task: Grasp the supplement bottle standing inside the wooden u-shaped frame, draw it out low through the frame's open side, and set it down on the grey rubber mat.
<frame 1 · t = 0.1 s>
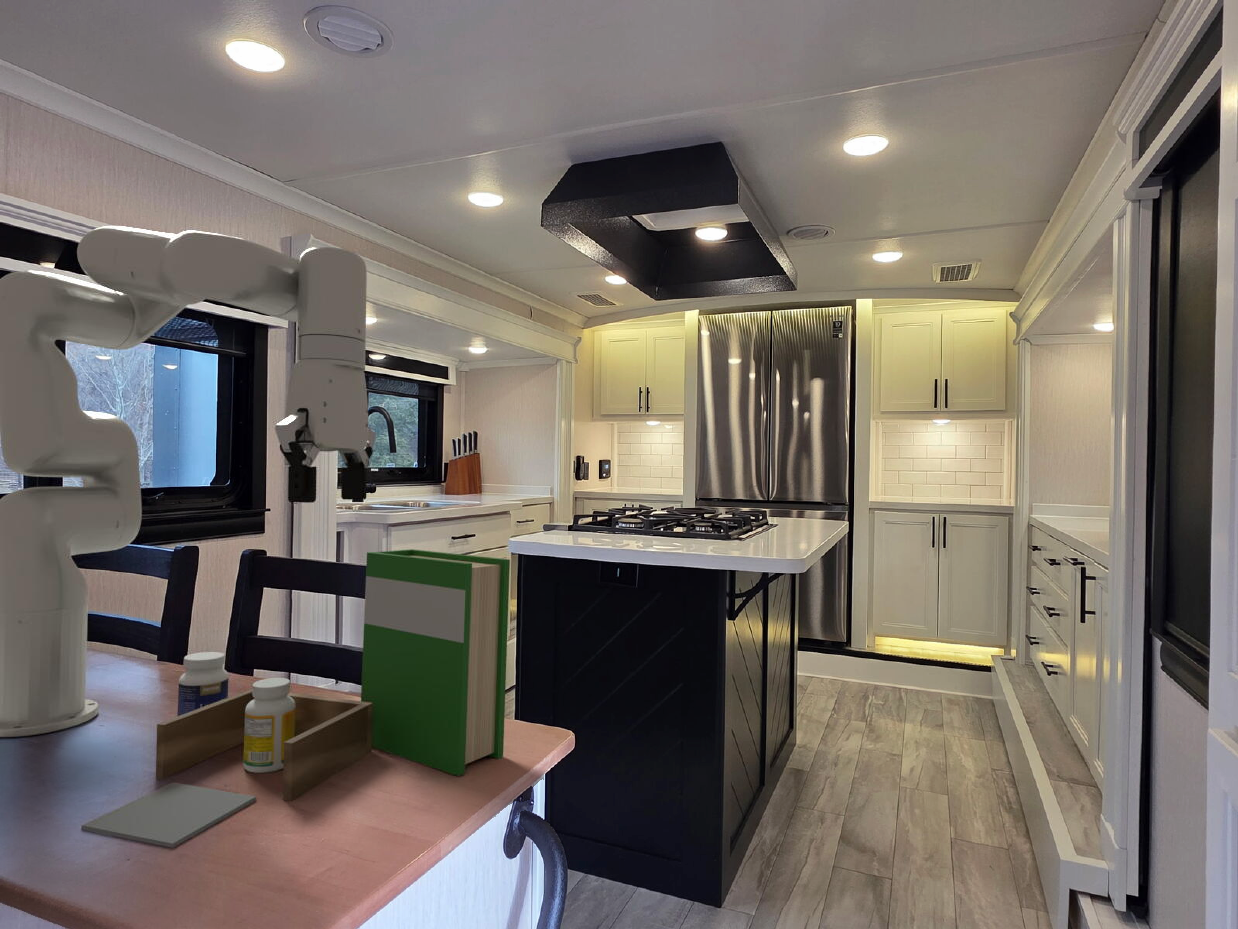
hand: (329, 500, 85), 31 cm above the table, tool pointing down, fingers open, 9 cm apart
supplement bottle: (269, 766, 84), on the table
pill bottle: (202, 733, 95), on the table
hardback book: (429, 751, 89), on the table
grey mat: (172, 814, 72), on the table
wooden u-shaped frame: (269, 764, 84), on the table
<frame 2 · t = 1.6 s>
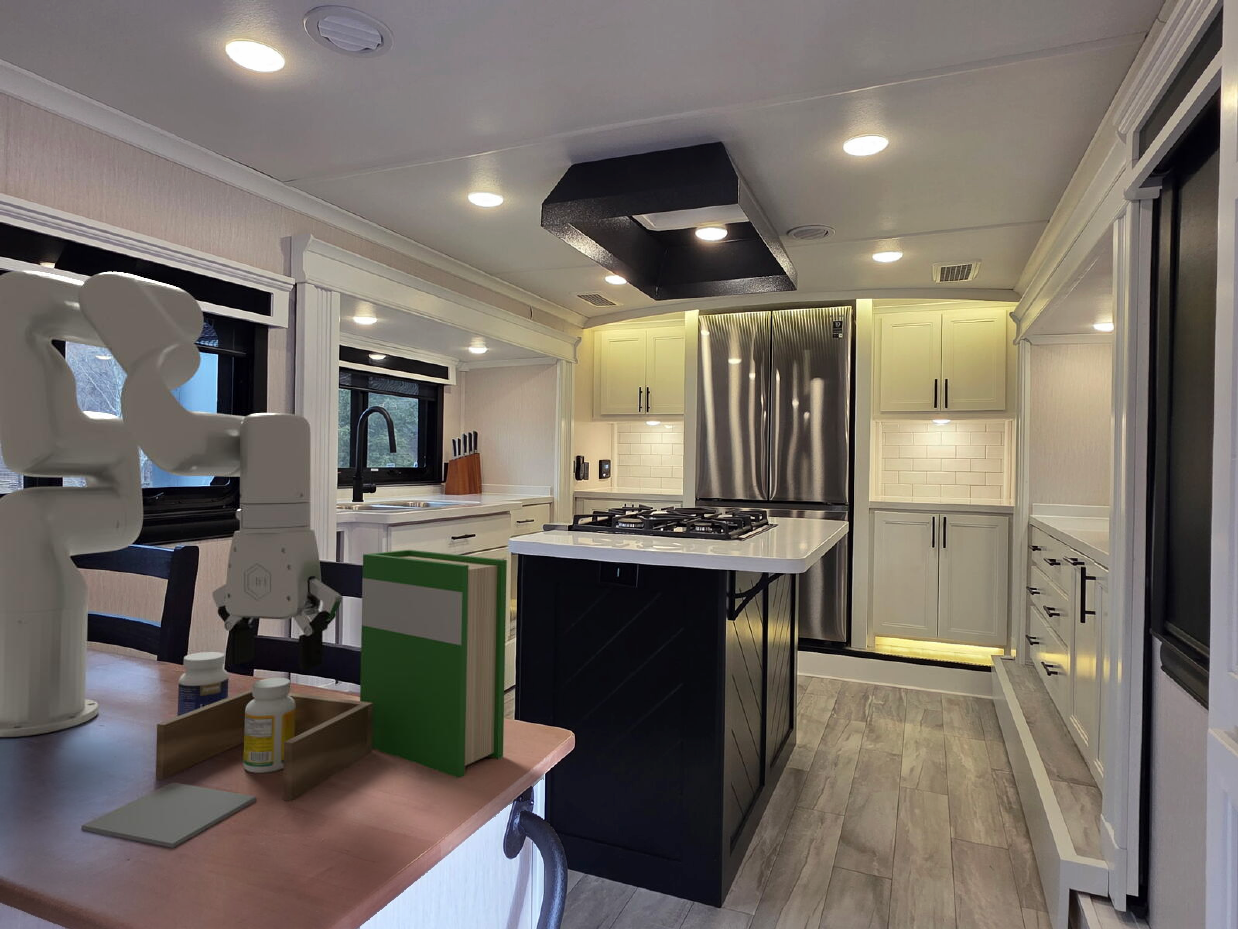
hand: (275, 665, 84), 12 cm above the table, tool pointing down, fingers open, 9 cm apart
nothing on the table moved.
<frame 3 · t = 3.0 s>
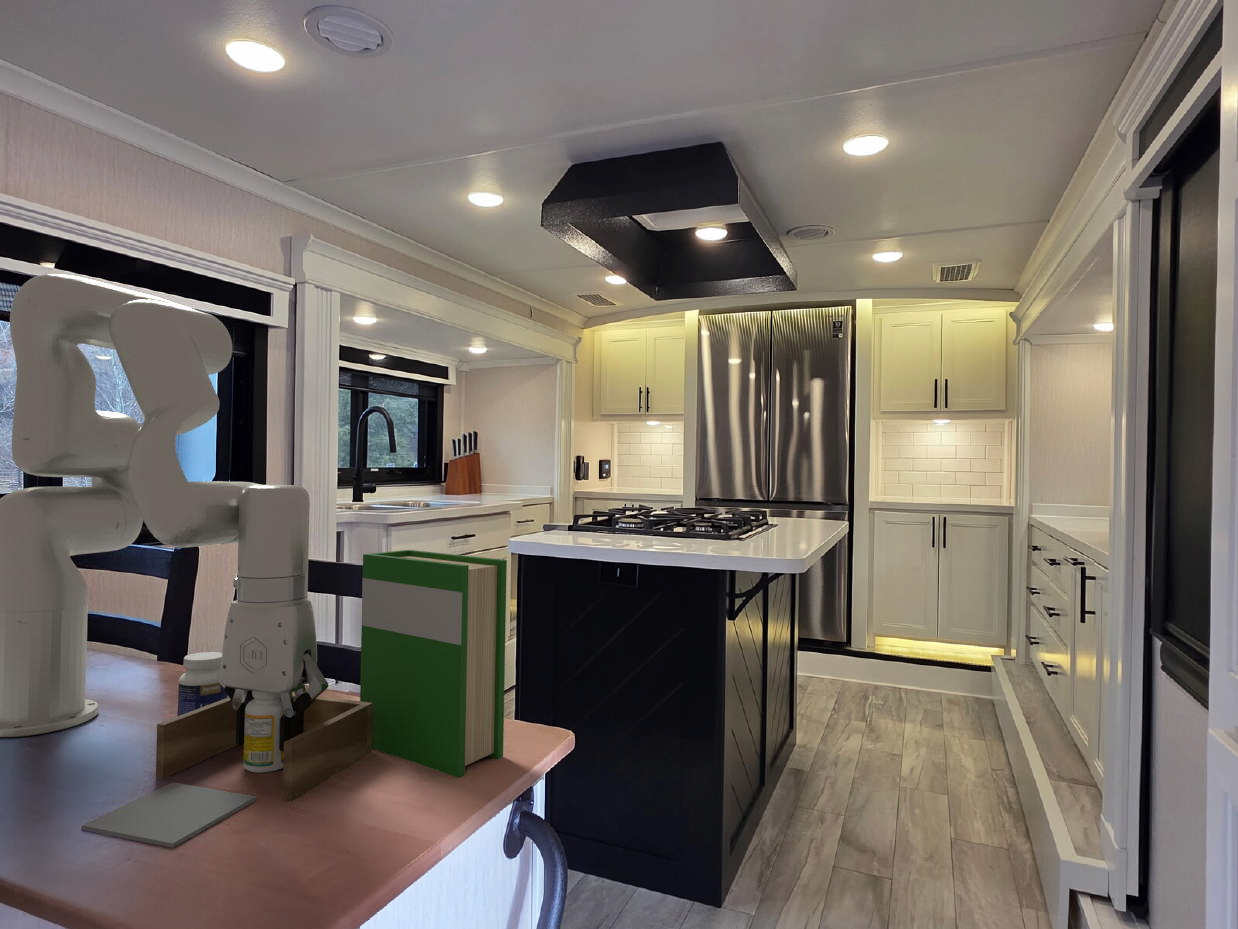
hand: (269, 742, 84), 3 cm above the table, tool pointing down, fingers closed on supplement bottle, 5 cm apart
supplement bottle: (269, 766, 84), on the table, touching gripper
everything else where it was.
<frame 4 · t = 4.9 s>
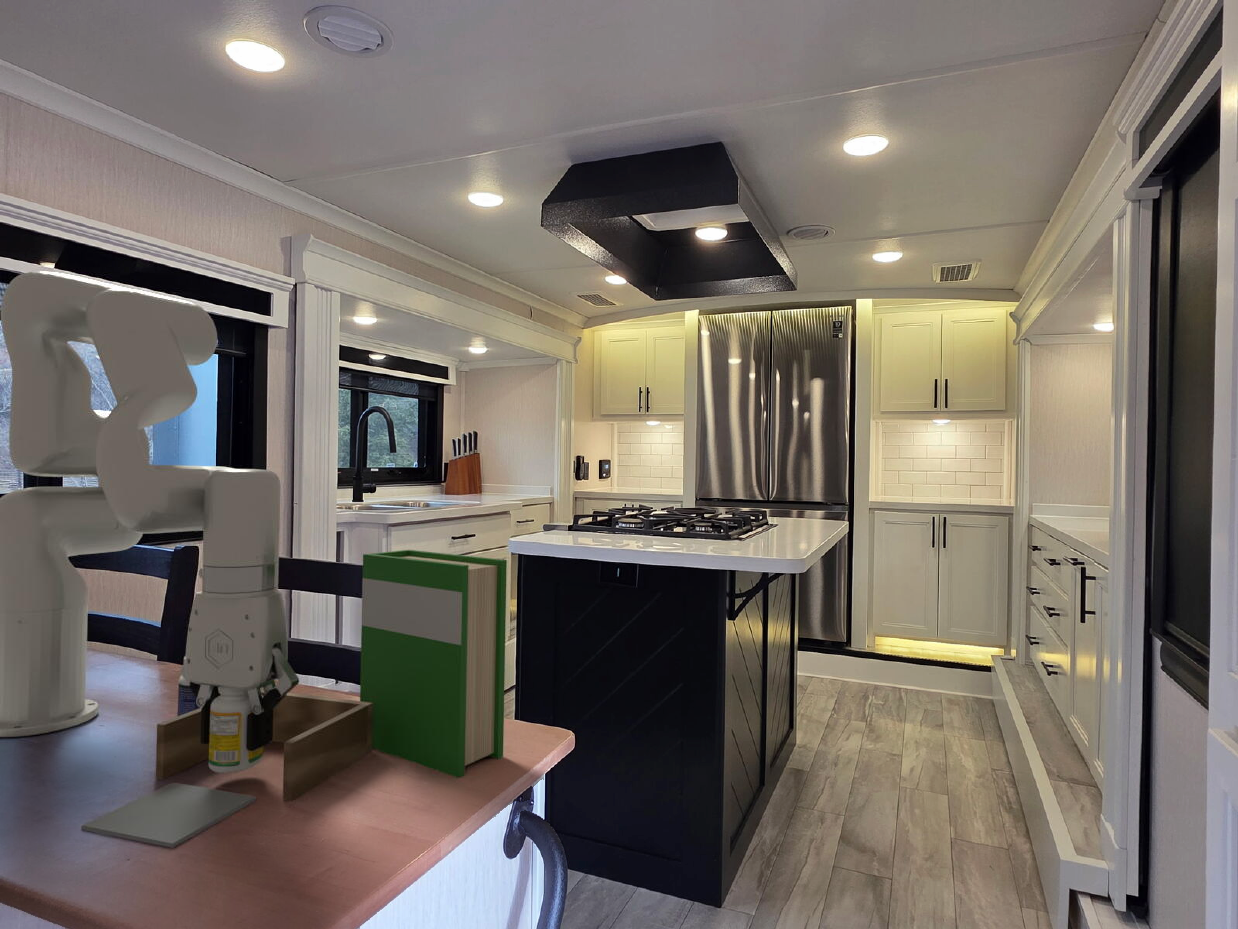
hand: (236, 741, 80), 4 cm above the table, tool pointing down, fingers closed on supplement bottle, 5 cm apart
supplement bottle: (236, 766, 80), point 2 cm above the table, touching gripper
everything else where it was.
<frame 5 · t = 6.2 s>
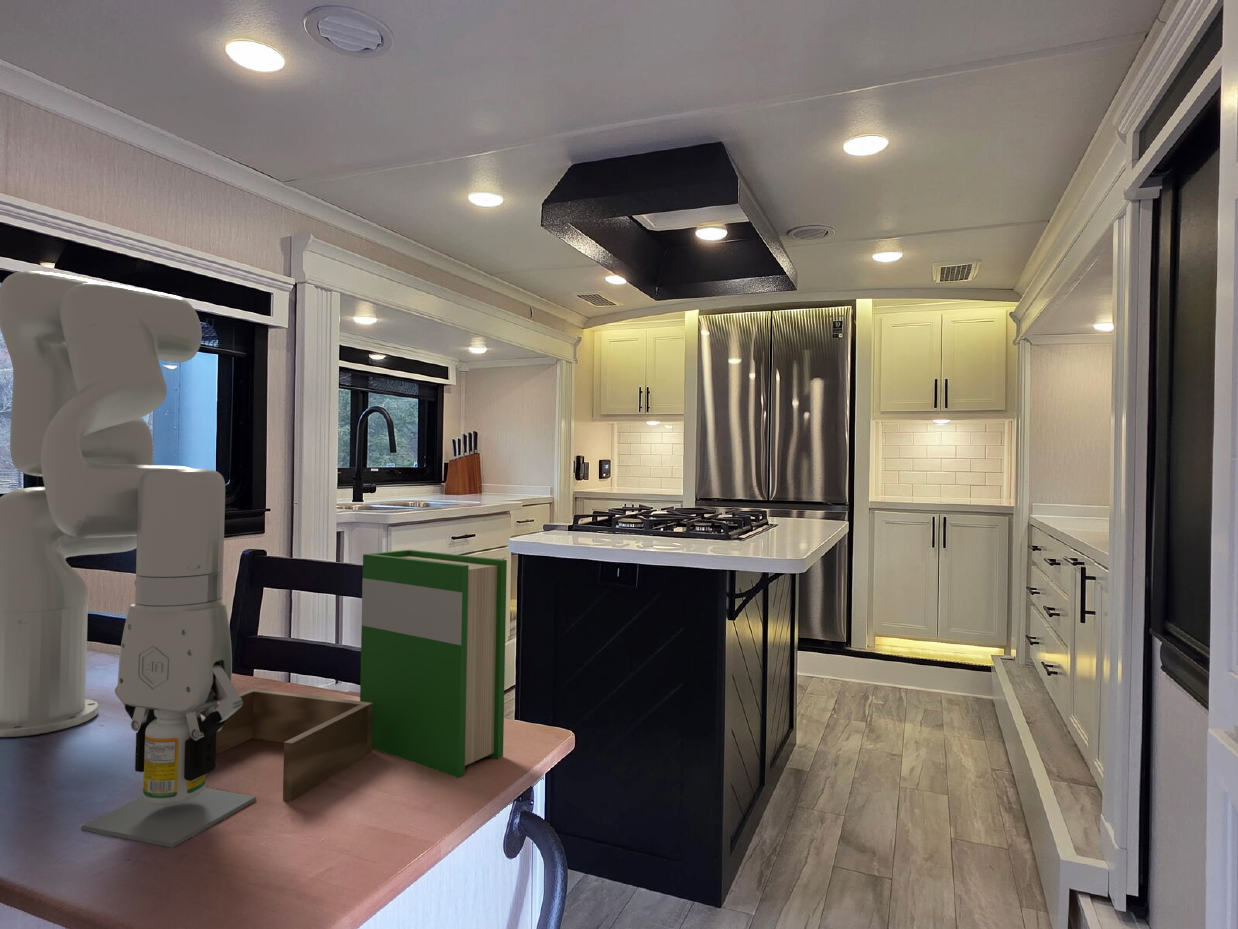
hand: (175, 769, 72), 4 cm above the table, tool pointing down, fingers closed on supplement bottle, 5 cm apart
supplement bottle: (175, 796, 72), point 2 cm above the table, touching gripper
everything else where it was.
when the fingers open (3 cm above the table, at t = 7.1 s): supplement bottle stays where it is, resting on grey mat.
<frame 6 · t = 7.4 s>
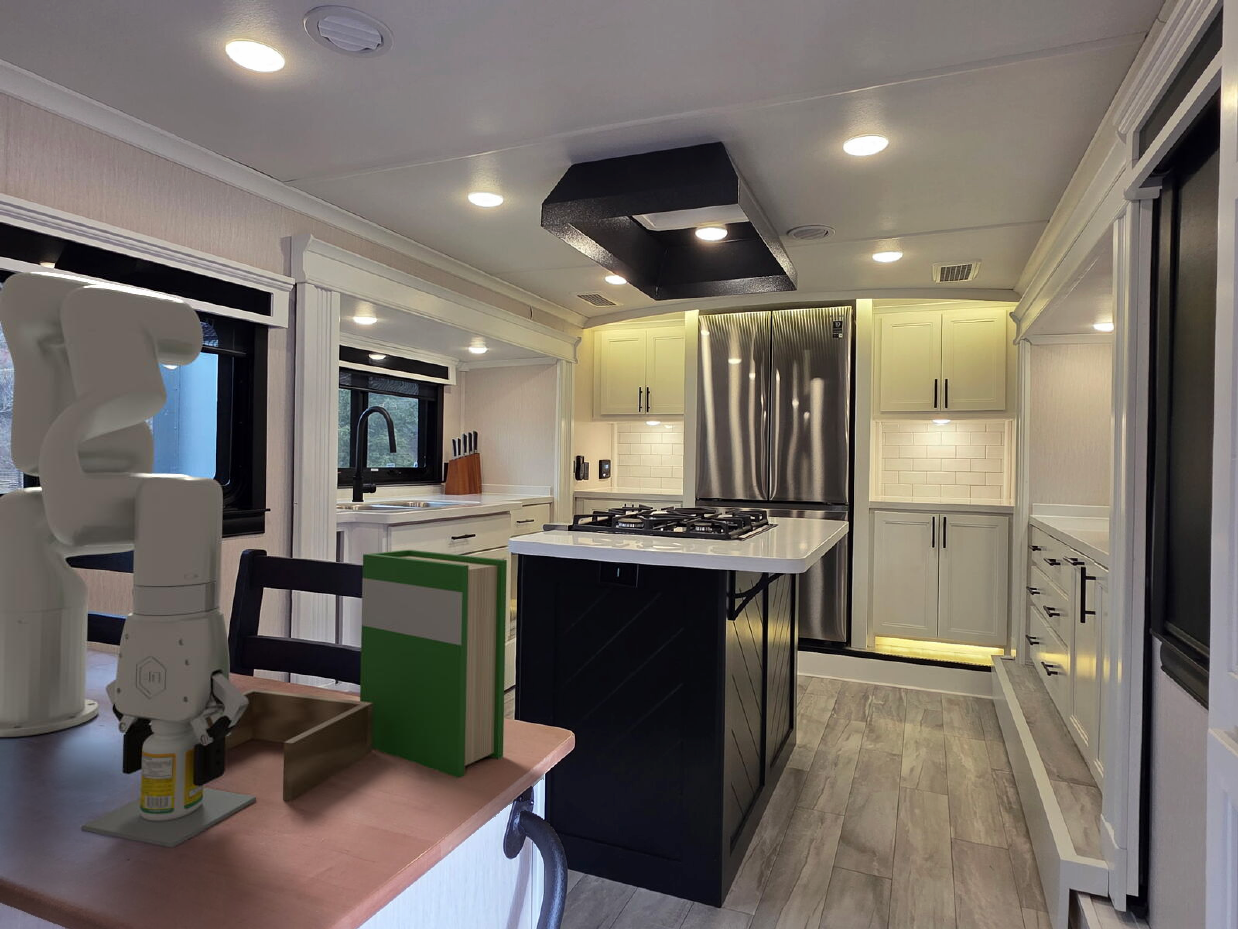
hand: (173, 773, 72), 4 cm above the table, tool pointing down, fingers open, 8 cm apart
supplement bottle: (172, 811, 72), resting on grey mat
everything else where it was.
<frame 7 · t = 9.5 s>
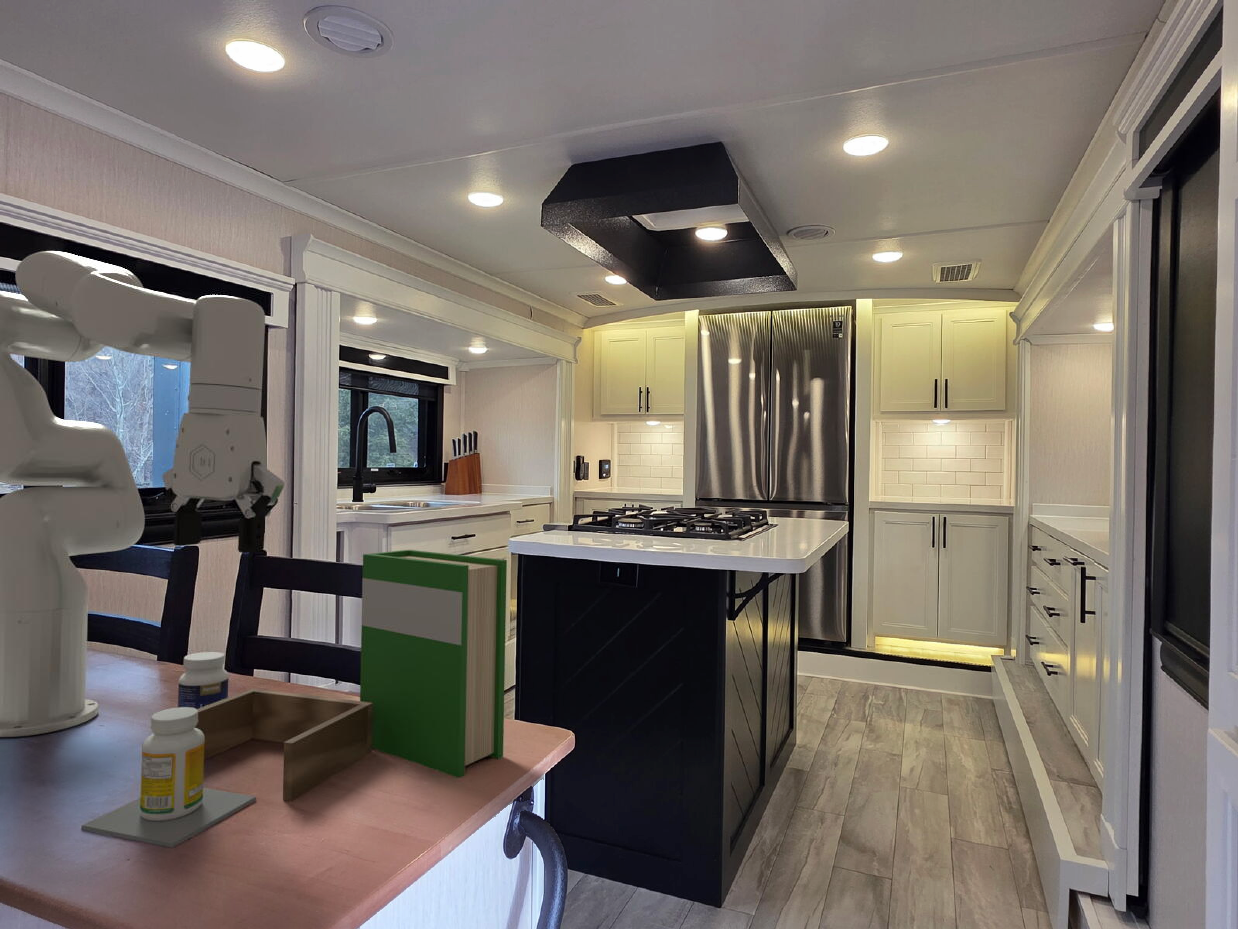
hand: (218, 548, 85), 25 cm above the table, tool pointing down, fingers open, 9 cm apart
nothing on the table moved.
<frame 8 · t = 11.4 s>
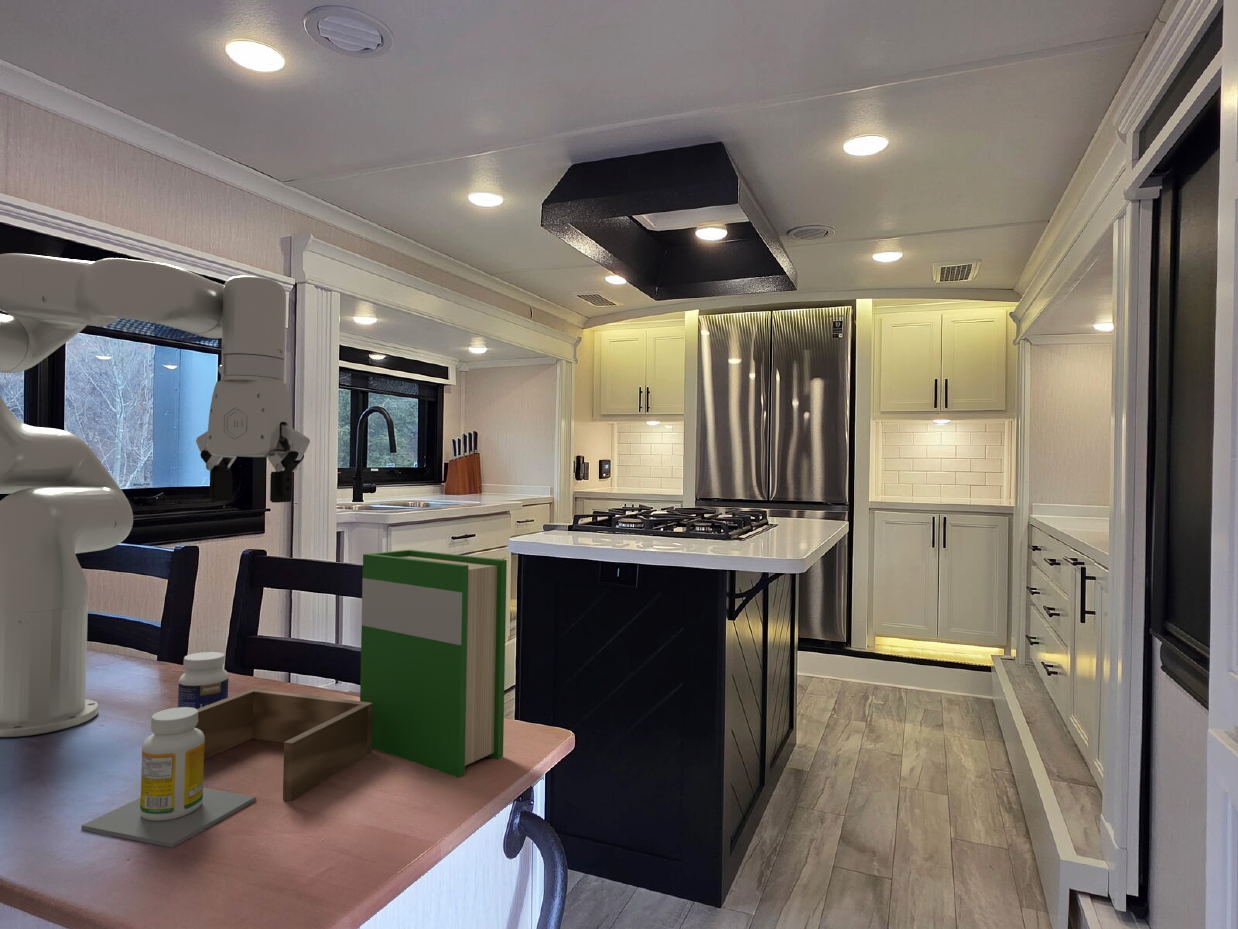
hand: (250, 501, 95), 30 cm above the table, tool pointing down, fingers open, 9 cm apart
nothing on the table moved.
at the end: supplement bottle inside the target area on the grey mat (0.1 cm from its centre), point 0.2 cm above the grey mat's base; supplement bottle tilted 0°; the gripper is holding nothing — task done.
